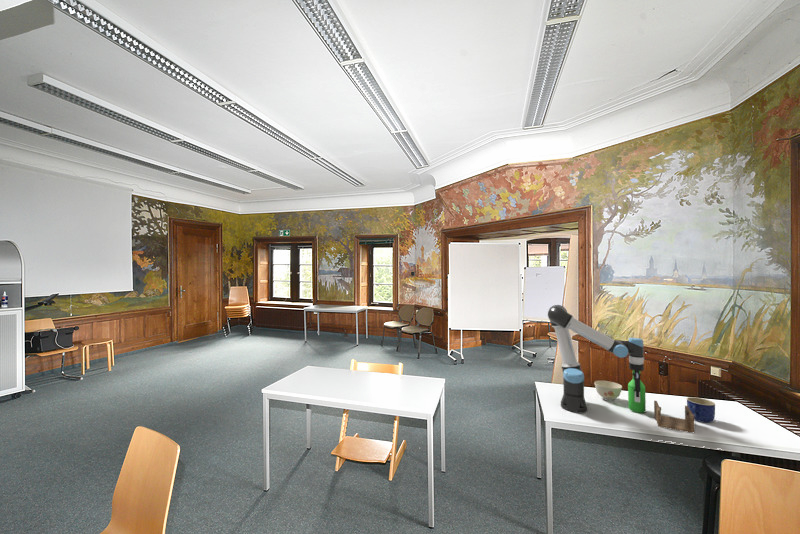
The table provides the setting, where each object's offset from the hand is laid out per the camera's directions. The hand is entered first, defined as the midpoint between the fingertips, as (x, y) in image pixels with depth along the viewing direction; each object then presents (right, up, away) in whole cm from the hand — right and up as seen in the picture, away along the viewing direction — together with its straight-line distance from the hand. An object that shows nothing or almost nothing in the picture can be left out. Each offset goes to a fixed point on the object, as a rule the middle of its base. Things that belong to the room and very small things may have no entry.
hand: (636, 399), depth 207 cm
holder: (+7, -7, -19) cm, 21 cm away
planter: (+29, -7, -13) cm, 32 cm away
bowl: (-6, -8, +19) cm, 21 cm away
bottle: (0, -7, 0) cm, 7 cm away
